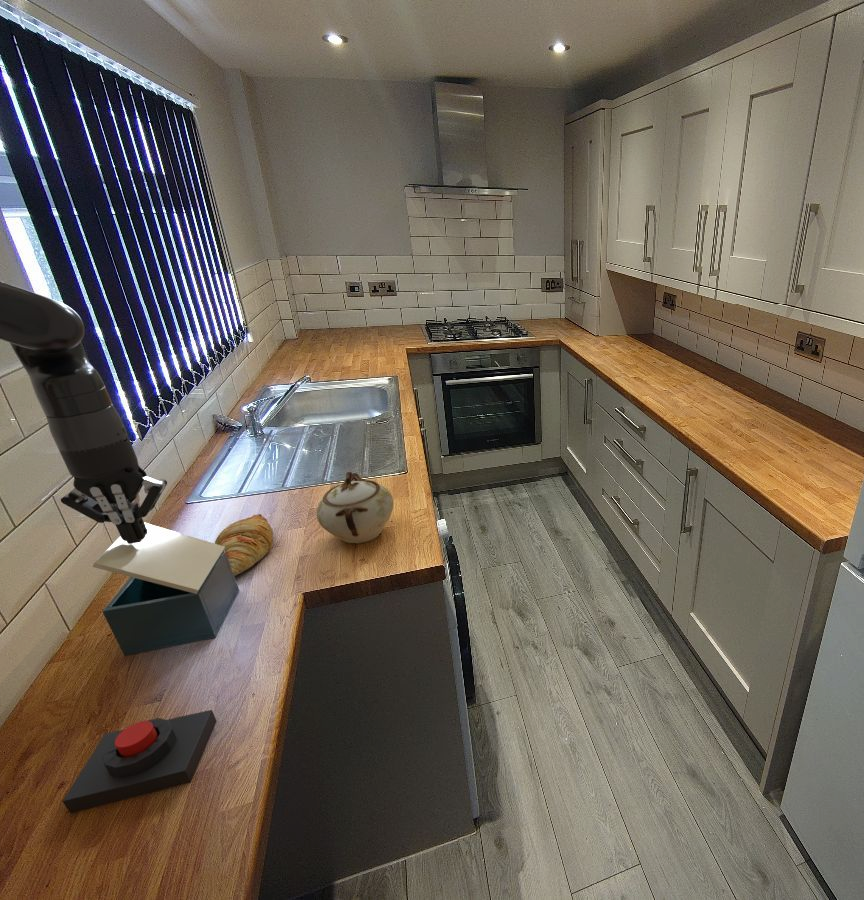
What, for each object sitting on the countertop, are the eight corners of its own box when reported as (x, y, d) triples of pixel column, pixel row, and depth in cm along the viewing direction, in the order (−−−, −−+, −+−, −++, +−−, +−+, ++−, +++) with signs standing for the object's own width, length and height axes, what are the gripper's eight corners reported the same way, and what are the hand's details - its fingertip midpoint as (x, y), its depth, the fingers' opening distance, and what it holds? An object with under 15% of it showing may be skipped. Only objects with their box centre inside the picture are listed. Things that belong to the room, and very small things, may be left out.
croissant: (256, 592, 101) (268, 558, 100) (194, 583, 97) (205, 547, 95) (277, 534, 120) (287, 504, 118) (225, 524, 115) (235, 493, 113)
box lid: (92, 566, 76) (94, 562, 76) (134, 523, 87) (136, 519, 87) (196, 594, 82) (198, 590, 82) (223, 550, 93) (225, 546, 93)
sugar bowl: (397, 551, 108) (384, 486, 102) (317, 566, 103) (298, 499, 97) (398, 506, 125) (387, 448, 119) (329, 517, 120) (314, 458, 114)
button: (113, 761, 62) (108, 751, 62) (128, 735, 65) (123, 725, 65) (149, 752, 63) (144, 742, 63) (162, 727, 66) (157, 717, 66)
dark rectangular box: (123, 655, 82) (101, 611, 79) (159, 604, 94) (141, 563, 90) (215, 637, 86) (198, 594, 82) (239, 590, 97) (225, 550, 93)
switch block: (70, 813, 60) (55, 791, 59) (111, 745, 68) (98, 723, 67) (191, 782, 63) (179, 760, 62) (216, 720, 71) (207, 699, 70)
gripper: (17, 455, 70) (72, 561, 77) (134, 442, 74) (176, 545, 81) (52, 435, 77) (99, 535, 84) (158, 424, 81) (195, 521, 87)
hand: (137, 540), depth 82 cm, fingers closed
